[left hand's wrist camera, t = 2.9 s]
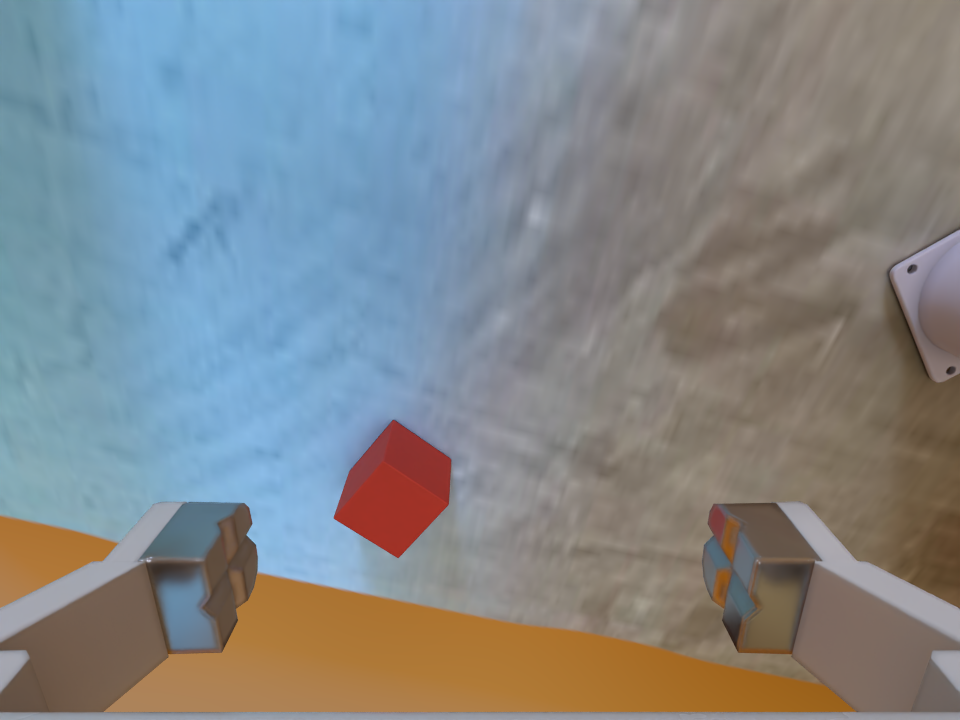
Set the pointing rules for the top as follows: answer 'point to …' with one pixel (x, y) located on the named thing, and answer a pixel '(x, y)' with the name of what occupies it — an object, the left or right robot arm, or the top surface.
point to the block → (395, 490)
